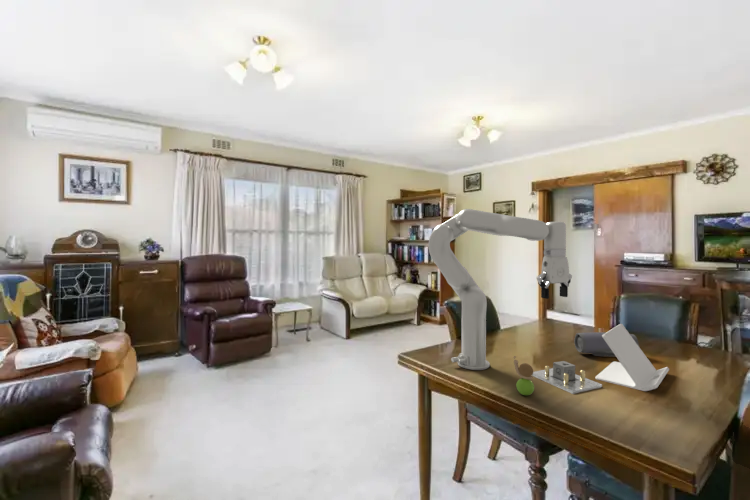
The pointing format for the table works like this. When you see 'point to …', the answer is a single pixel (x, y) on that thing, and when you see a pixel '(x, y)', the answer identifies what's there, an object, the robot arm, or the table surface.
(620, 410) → the table surface
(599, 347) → the bluetooth speaker
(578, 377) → the chassis plate
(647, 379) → the tablet stand
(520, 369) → the snail figurine
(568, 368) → the dice cube
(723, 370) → the table surface
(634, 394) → the table surface
